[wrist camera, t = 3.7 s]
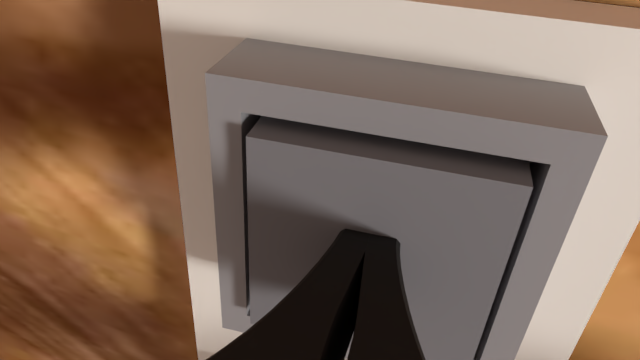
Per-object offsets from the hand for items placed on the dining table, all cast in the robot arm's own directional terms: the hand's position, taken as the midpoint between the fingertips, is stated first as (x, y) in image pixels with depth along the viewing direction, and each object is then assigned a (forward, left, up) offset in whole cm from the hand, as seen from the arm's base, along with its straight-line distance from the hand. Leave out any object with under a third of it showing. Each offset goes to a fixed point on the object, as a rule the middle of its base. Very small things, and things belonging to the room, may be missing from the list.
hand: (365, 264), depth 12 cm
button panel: (0, +7, -5) cm, 8 cm away
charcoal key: (0, 0, -4) cm, 4 cm away
